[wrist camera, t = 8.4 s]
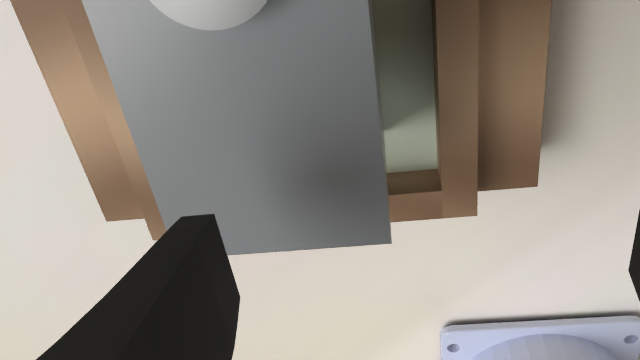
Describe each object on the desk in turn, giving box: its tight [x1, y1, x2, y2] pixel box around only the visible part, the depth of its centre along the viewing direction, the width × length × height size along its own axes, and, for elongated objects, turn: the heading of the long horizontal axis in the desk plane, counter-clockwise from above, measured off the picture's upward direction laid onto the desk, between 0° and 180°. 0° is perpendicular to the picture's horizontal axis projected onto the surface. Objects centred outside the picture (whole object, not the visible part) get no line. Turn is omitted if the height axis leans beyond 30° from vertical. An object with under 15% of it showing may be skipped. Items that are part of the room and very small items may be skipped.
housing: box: [82, 0, 392, 255], centre depth 13 cm, size 9×5×6 cm, turn 8°
